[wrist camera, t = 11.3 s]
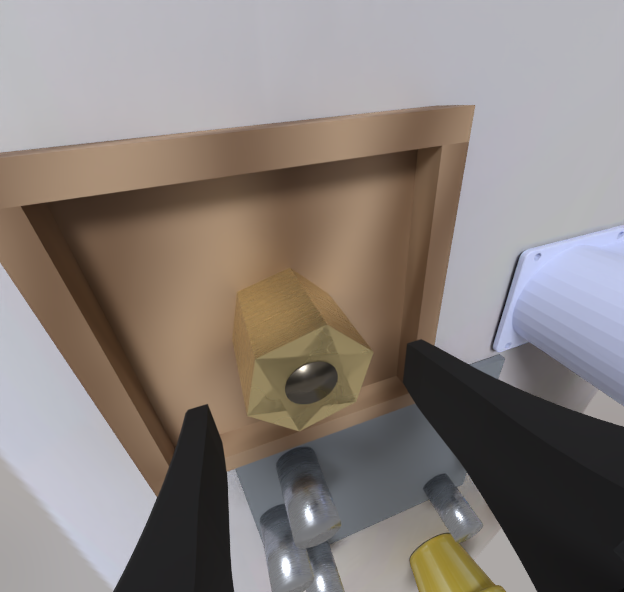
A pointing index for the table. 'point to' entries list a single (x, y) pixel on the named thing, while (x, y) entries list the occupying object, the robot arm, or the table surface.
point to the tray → (231, 259)
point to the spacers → (331, 524)
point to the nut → (296, 352)
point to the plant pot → (448, 568)
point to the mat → (368, 466)
